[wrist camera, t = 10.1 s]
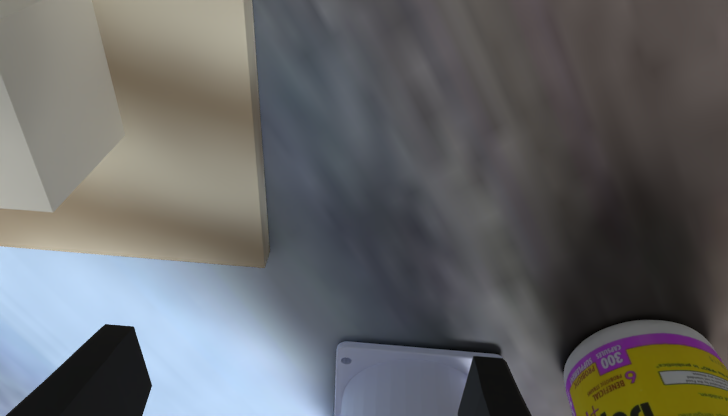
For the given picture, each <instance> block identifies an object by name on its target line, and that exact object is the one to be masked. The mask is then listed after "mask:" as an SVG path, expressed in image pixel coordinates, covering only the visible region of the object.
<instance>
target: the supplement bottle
mask: <svg viewBox="0 0 728 416" xmlns="http://www.w3.org/2000/svg"><path fill="white" fill-rule="evenodd" d="M564 384H565V388H566V392H567V396H568V400H569V403H570V407H571V410H572V414H573V416H728V370H727V369H726V367H725V366H724V364H723V362H722V361H721V359H720V357H719V356H718V354H717V353H716V351H715V349H714V348H713V346H712V345H711V344H710V343H709V341H708V340H707V339H706V338H705V337H704V336H702V335H701V334H700V333H698V332H697V331H695V330H693V329H692V328H690V327H687V326H685V325H682V324H679V323H675V322H671V321H664V320H635V321H629V322H624V323H620V324H616V325H613V326H610V327H607V328H605V329H602V330H600V331H598V332H596V333H594V334H593V335H591V336H589V337H588V338H586V339H585V340H584V341H582V342H581V343H580V344H579V345H578V346H577V347H576V348H575V349H574V351H573V352H572V353H571V354H570V356H569V358H568V360H567V362H566V364H565V368H564Z"/></svg>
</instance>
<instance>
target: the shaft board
mask: <svg viewBox="0 0 728 416" xmlns="http://www.w3.org/2000/svg"><path fill="white" fill-rule="evenodd" d="M92 3H93V7H94V11H95V15H96V19H97V24H98V28H99V32H100V36H101V40H102V44H103V48H104V52H105V56H106V60H107V64H108V68H109V72H110V76H111V80H112V84H113V88H114V92H115V96H116V100H117V104H118V108H119V112H120V116H121V120H122V124H123V128H124V132H125V136H124V138H123V139H122V140H121V141H120V142H119V143H118V144H117V145H116V146H115V147H114V148H113V149H112V150H111V151H110V152H109V154H108V155H107V156H106V157H105V158H104V159H103V160H102V161H101V162H100V163H99V164H98V165H97V166H96V167H95V168H94V169H93V171H92V172H91V173H90V174H89V175H88V176H87V177H86V178H85V179H84V180H83V181H82V182H81V183H80V184H79V185H78V186H77V188H76V189H75V190H74V191H73V192H72V193H71V194H70V195H69V196H68V197H67V198H66V199H65V200H64V201H63V202H62V204H61V205H60V206H59V207H58V208H57V209H56V210H55V211H54V212H41V211H29V210H16V209H3V208H0V246H4V247H16V248H28V249H40V250H52V251H65V252H77V253H89V254H101V255H113V256H125V257H137V258H149V259H161V260H173V261H185V262H197V263H209V264H221V265H233V266H246V267H258V268H265V266H266V263H267V260H268V256H269V253H270V246H269V232H268V218H267V204H266V190H265V175H264V161H263V147H262V133H261V118H260V104H259V90H258V76H257V61H256V47H255V33H254V19H253V5H252V0H92Z"/></svg>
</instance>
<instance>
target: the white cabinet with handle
mask: <svg viewBox="0 0 728 416" xmlns="http://www.w3.org/2000/svg"><path fill="white" fill-rule="evenodd" d="M124 136H125V132H124V128H123V124H122V120H121V116H120V112H119V108H118V104H117V100H116V96H115V92H114V88H113V84H112V80H111V76H110V72H109V68H108V64H107V60H106V56H105V52H104V48H103V44H102V40H101V36H100V32H99V28H98V24H97V19H96V15H95V11H94V7H93V3H92V0H0V208H3V209H16V210H29V211H41V212H54V211H55V210H56V209H57V208H58V207H59V206H60V205H61V204H62V202H63V201H64V200H65V199H66V198H67V197H68V196H69V195H70V194H71V193H72V192H73V191H74V190H75V189H76V188H77V186H78V185H79V184H80V183H81V182H82V181H83V180H84V179H85V178H86V177H87V176H88V175H89V174H90V173H91V172H92V171H93V169H94V168H95V167H96V166H97V165H98V164H99V163H100V162H101V161H102V160H103V159H104V158H105V157H106V156H107V155H108V154H109V152H110V151H111V150H112V149H113V148H114V147H115V146H116V145H117V144H118V143H119V142H120V141H121V140H122V139H123V138H124Z"/></svg>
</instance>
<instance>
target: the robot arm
mask: <svg viewBox="0 0 728 416" xmlns="http://www.w3.org/2000/svg"><path fill="white" fill-rule="evenodd" d="M346 357H347V358H346ZM151 387H152V384H151V381H150V378H149V375H148V371H147V368H146V365H145V362H144V358H143V355H142V352H141V349H140V345H139V342H138V339H137V336H136V332H135V329H134V327H131V326H120V325H108V324H105V325H104V326H103V327H102V328H101V329H99V330H98V331H97V332H96V333H95V334H94V335H93V336H92V337H91V338H90V339H89V340H88V341H86V342H85V343H84V344H83V345H82V346H81V347H80V348H79V349H78V350H77V351H76V352H75V353H74V354H73V355H72V356H71V357H69V358H68V359H67V360H66V361H65V362H64V363H63V364H62V365H61V366H60V367H59V368H58V369H57V370H56V371H54V372H53V373H52V374H51V375H50V376H49V377H48V378H47V379H46V380H45V381H44V382H43V383H42V384H40V385H39V386H38V387H37V388H36V389H35V390H34V391H33V392H32V393H30V394H29V395H28V396H27V397H26V398H25V399H24V400H23V401H21V402H20V403H19V404H18V405H17V406H16V407H15V408H14V409H13V410H11V411H10V412H9V413H8V414H7V415H6V416H142V414H143V412H144V409H145V405H146V402H147V399H148V396H149V393H150V390H151ZM334 416H531V414H530V412H529V410H528V408H527V406H526V404H525V402H524V400H523V397H522V395H521V393H520V391H519V389H518V387H517V385H516V383H515V380H514V378H513V376H512V374H511V372H510V369H509V367H508V365H507V362H506V361H505V360H504V359H503V357H502V356H500V355H497V354H490V353H478V352H466V351H455V350H443V349H431V348H419V347H408V346H396V345H384V344H373V343H361V342H349V341H345V342H341V343H339V344H338V346H337V351H336V374H335V403H334Z"/></svg>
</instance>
